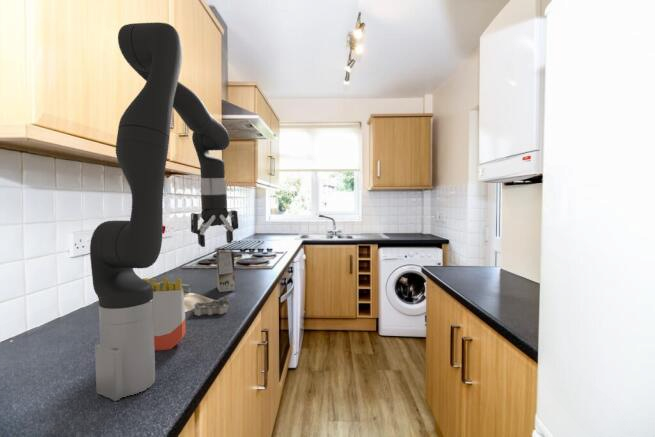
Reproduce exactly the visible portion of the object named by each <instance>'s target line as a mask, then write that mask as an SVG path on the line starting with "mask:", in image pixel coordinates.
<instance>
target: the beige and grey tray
mask: <svg viewBox="0 0 655 437" xmlns="http://www.w3.org/2000/svg"><path fill="white" fill-rule="evenodd" d="M169 282H170V281H169V280H168V283H169ZM159 283H160V289H163V281H160V282H159ZM173 283H176V281H175V282H174V281H173ZM181 285H182V288H183V294H184V307H185V313H187V312H189V311H192V310H194V308H195V306H194V304H196V303H198V302H199V303H204V302H208V301H210V302H211V301H214V300H215V299H213V298H210V297H207V296H204V295H202V294H198V293H193V292H191V291H192V290H191V289H192V288H191V284H185V283H181Z"/></svg>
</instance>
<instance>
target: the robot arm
mask: <svg viewBox="0 0 655 437" xmlns="http://www.w3.org/2000/svg"><path fill="white" fill-rule="evenodd" d="M117 42H118V47H119V50H120V53H121V55H122V56H123V58H124V59H125V61H126V62H127V63H128V64H129V66H130V67H131V68H132V69H133V70H134V72H136V73H137V74H138V75H139V76H140V77H141V78H142V79H143V80H144V81H145V84H144V86H143V87H142V89H141V90H140V91H139V93H138V94H137V95H136V96H135V98H133V100H132V101H131V102H130V104H129V105H128V107H127V108H126V109H125V110H124V112H123V114H122V115H121V116H120V120H119V123H118V128H117V134H116V143H115V155H116V158H117V163H118V164H119V166H120V168H121V169H120V170H121V171H122V173H123V175H124V178H125V180H126V182H127V183H128V186H129V188H130V192H131V212H130V219H129V220H107V221H104V222H103V221H102V223H100V224H99V225H97V227H96V228H95V229H94V230H93V232H92V235H91V238H90V244H89V256H90V257H89V258H90V266H91V267H90V268H91V269H90V270H91V278H92V287H93V290H94V292H95V295H96V296H97V299H98V315H99V316H98V317H99V319H98V320H99V321H98V322H99V343H97V344H96V345H95V346H94V353H95V355H94V357H95V358H94V359H95V382H96V388H95V390H96V394H98V395H101V396H102V395H103V397H105V398H107V397H108V398H107V399H109V398H110V400H112V401H114V402H116V401H117V400H118V401H120V400H121V399H120V398H122V397H125V398H127V397H126V396H129V395H133V396H135V395H134V394H136V395H138V394H140V393H139V392H141V393H143V392H144V391H147V390H148V389H150V387H152V386H153V385H154V383H155V382H156V356H155V355H156V354H155V351H156V350H155V347H154V307H153V287H152V285H151V282H150V281H149V282H147V281H145V280H143V278H141V277H140V276H138V275H137V274H136V272H135V270H134V269H148V268H149V267H151V266H153V265H154V264H155V263H156V261H157V260H158V258H159V256H160V253H161V249H162V244H163V230H164V229H163V220H164V219H163V216H164V215H163V209H164V208H163V207H164V204H163V201H164V187H165V186H164V185H165V177H166V176H165V174H166V168H167V167H166V166H167V159H168V153H169V145H170V136H171V135H170V133H171V123H172V122H171V120H172V115H173V109H174V110H175V112H176V113H177V114H178V116H179V117H180V119H181V120H182V121H183V122H184V123H185V125H186V126H187V128H188V129H189V130H190V131H191V132H192V135H191V136H192V143H193V144H192V145H193V146H194V147H193V148H194V149H195V151H196V152H195V153H196V155H197V159H198V163H199V167H200V168H199V169H200V171H199V172H200V190H199V192H200V201H201V202H200V205H201V212H200V213H196V212H195V213H194V212H191V213H190V232H191V233H192V234H196V235H197V241H198V242H197V243H198V245H199V246H200V247H202V248H204V247H206V236H205V233H206V231H207V230H208V229H209V228H210V227H215V226H223V227H224V228H225V229H226V231H225V233H226V234H225V235H226V236H225V237H226V238H225V239H226V243H227V244H231V243H232V242H233V240H234V231H235V230H237V229H239V218H238V211H237V210H233V209H231V210H229V211H228V201H227V200H228V199H227V198H228V197H227V196H228V195H227V183H226V182H227V181H226V173H225V172H226V170H225V168H226V167H225V161H224V160H223V159H221V158H216V157H214V156H213V157H212V156H211V153H210V152H209V151H223V150H224V151H225V150H226V149H227V148H228V147H229V145H230V143H231V142H230V141H231V140H230V134H229V132H228V130H227V129H226V128H225V126H224V125H223V124H222V123H221V122H220V121H219V120H218V119H216V117H215V116H212V115H211V113H210V111H208V110H209V109H207V107H206V106H205V104H204V102H203V101H202V99H200V97H199V96H198V95H197V94H196V93H195V92H194V91H192V89H189V87H187V86H185V85H184V84H182V83H181V82H180V81H179V77H180V74H181V68H182V63H183V43H182V40H181V36H180V34H179V32H178V30H177V29H176V28H175V27H174V26H173V25H171V24H170V23H167V22H159V21H158V22H136V23H128V24H124V25H122V26H121V27H120V29H119V30H118V34H117ZM228 216H229V218H230V221H231V224H230V222H229V221H228V220H227V218H228ZM200 219H202V220H203V221H202V222H201V224H200V227H199V221H200ZM147 388H148V389H147ZM142 391H143V392H142ZM137 393H138V394H137ZM129 397H130V396H129ZM122 399H123V398H122Z"/></svg>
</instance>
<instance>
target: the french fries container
mask: <svg viewBox="0 0 655 437" xmlns="http://www.w3.org/2000/svg"><path fill="white" fill-rule="evenodd" d="M142 279H143V280H145V281H147V282H149V283H150V284H151V285H152V287H153V307H154V347H155V351H166V350H172V349H173V348H174V347H175V346H176V345H177V344H178V343H180V341H182V339H183V338H184V336H185V334H186V312H185V307H184V294H183V288H182V285H181V284H182V278H176V279H175V283H173V282H174V281H169V277H162V282H163V289H160V282H157V283H156V278H153V277H152V278H151V281H150V278H149V277H145V278H142ZM168 281H169V283H168Z"/></svg>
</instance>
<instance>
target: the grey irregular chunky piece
mask: <svg viewBox="0 0 655 437" xmlns="http://www.w3.org/2000/svg"><path fill="white" fill-rule="evenodd" d="M213 300H214V301H211V302H210V301H208V302H204V303H199V302H198V303H196V304H194V306H195V308H194V309H193V310H194V313H193V315H194V316H195V315H196V316H202V315H208V316H211V315H214V314H218V315H223V314H226V313H228V309H229V308H228V306H229V302H228V301H229V297H228V296H223V297H219V298H218V299H213Z"/></svg>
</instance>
